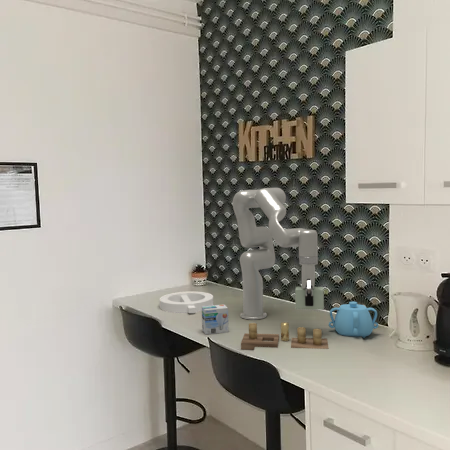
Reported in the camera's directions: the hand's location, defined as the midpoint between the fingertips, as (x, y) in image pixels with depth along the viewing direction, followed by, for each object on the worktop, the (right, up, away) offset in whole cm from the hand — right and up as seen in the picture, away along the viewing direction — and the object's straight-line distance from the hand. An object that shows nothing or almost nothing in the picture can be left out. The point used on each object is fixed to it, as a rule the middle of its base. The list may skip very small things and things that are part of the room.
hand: (309, 303), depth 200 cm
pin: (-11, -15, -6) cm, 19 cm away
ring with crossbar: (-54, -11, +57) cm, 80 cm away
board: (-2, -15, -10) cm, 18 cm away
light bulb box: (-39, -14, +12) cm, 43 cm away
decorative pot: (+19, -14, +2) cm, 23 cm away
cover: (0, -2, 0) cm, 2 cm away
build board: (-20, -15, -7) cm, 26 cm away
